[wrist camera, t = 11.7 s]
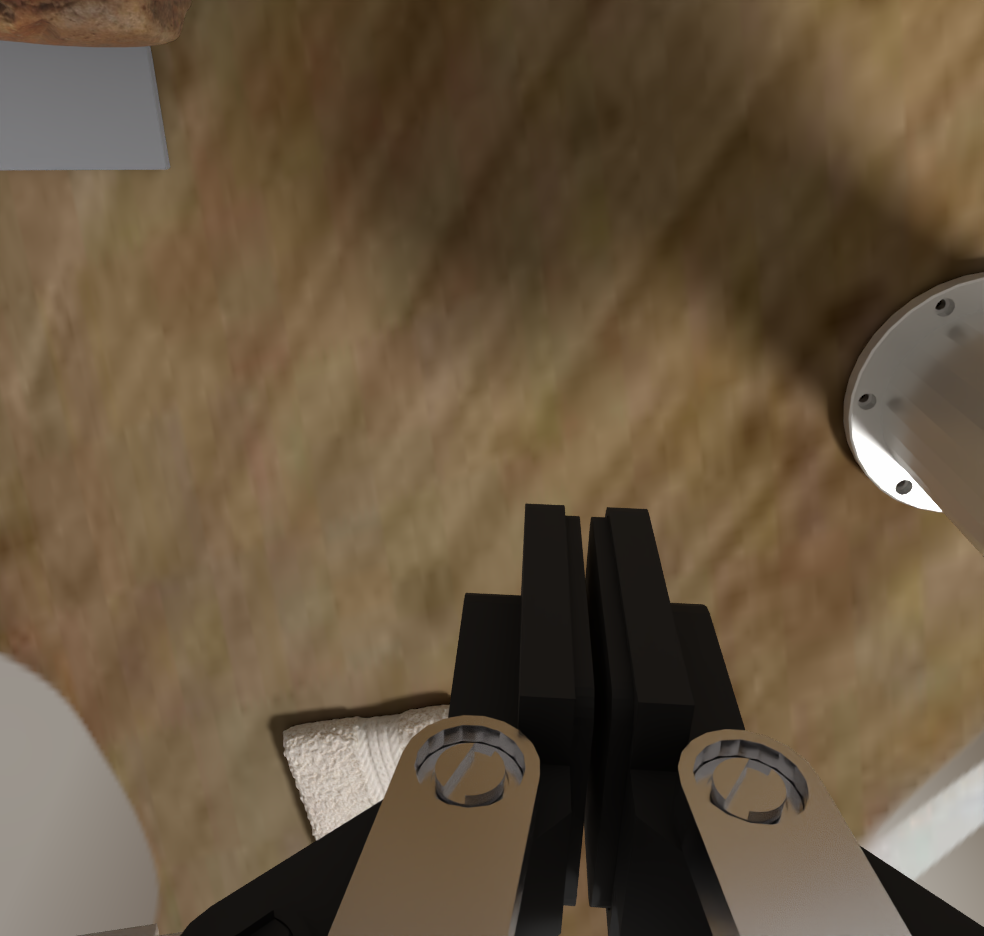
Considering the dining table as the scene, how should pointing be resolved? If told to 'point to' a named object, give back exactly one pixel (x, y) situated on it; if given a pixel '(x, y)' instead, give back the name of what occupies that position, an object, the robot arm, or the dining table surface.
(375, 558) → the dining table surface
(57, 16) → the block
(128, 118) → the mat
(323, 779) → the washcloth
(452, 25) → the dining table surface
